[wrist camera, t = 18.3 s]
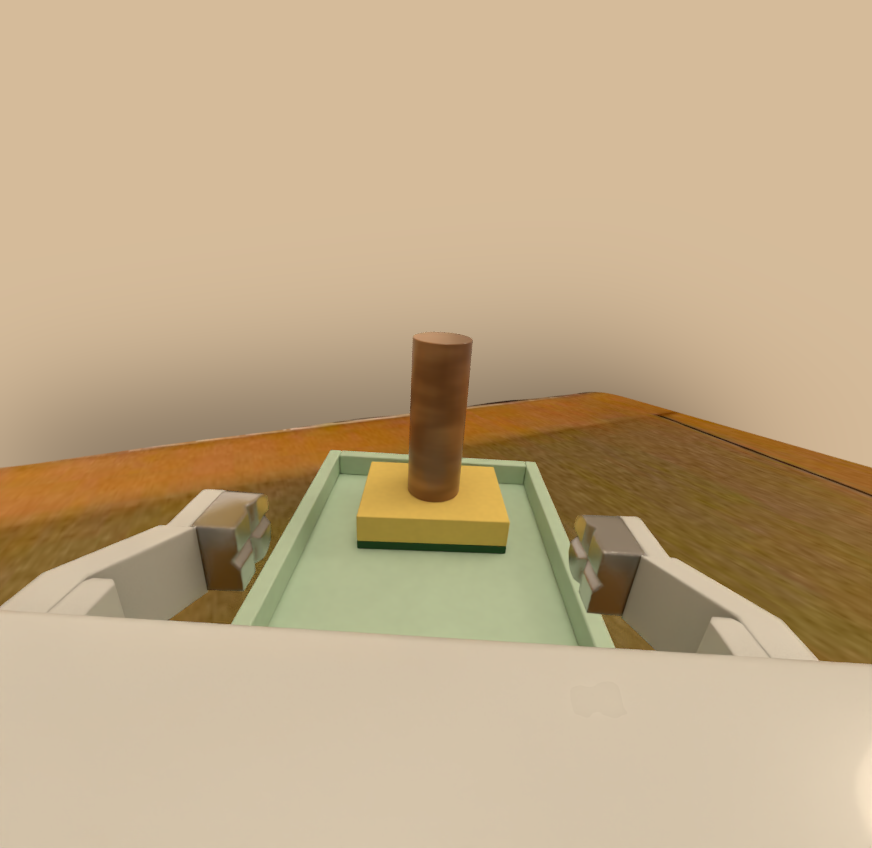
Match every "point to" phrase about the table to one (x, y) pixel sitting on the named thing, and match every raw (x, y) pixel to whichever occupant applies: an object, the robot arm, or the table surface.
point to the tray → (423, 570)
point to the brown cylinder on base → (434, 467)
